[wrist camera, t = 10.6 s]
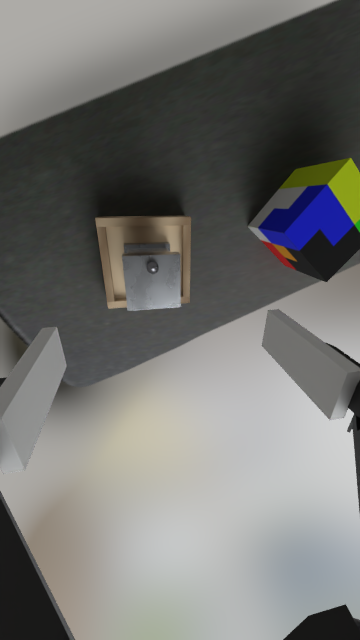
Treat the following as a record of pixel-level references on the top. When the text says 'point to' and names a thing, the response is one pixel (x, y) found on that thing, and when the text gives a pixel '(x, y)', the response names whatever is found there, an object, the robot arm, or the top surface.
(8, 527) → the robot arm
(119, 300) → the tray
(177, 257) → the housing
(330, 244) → the puzzle toy
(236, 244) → the top surface
